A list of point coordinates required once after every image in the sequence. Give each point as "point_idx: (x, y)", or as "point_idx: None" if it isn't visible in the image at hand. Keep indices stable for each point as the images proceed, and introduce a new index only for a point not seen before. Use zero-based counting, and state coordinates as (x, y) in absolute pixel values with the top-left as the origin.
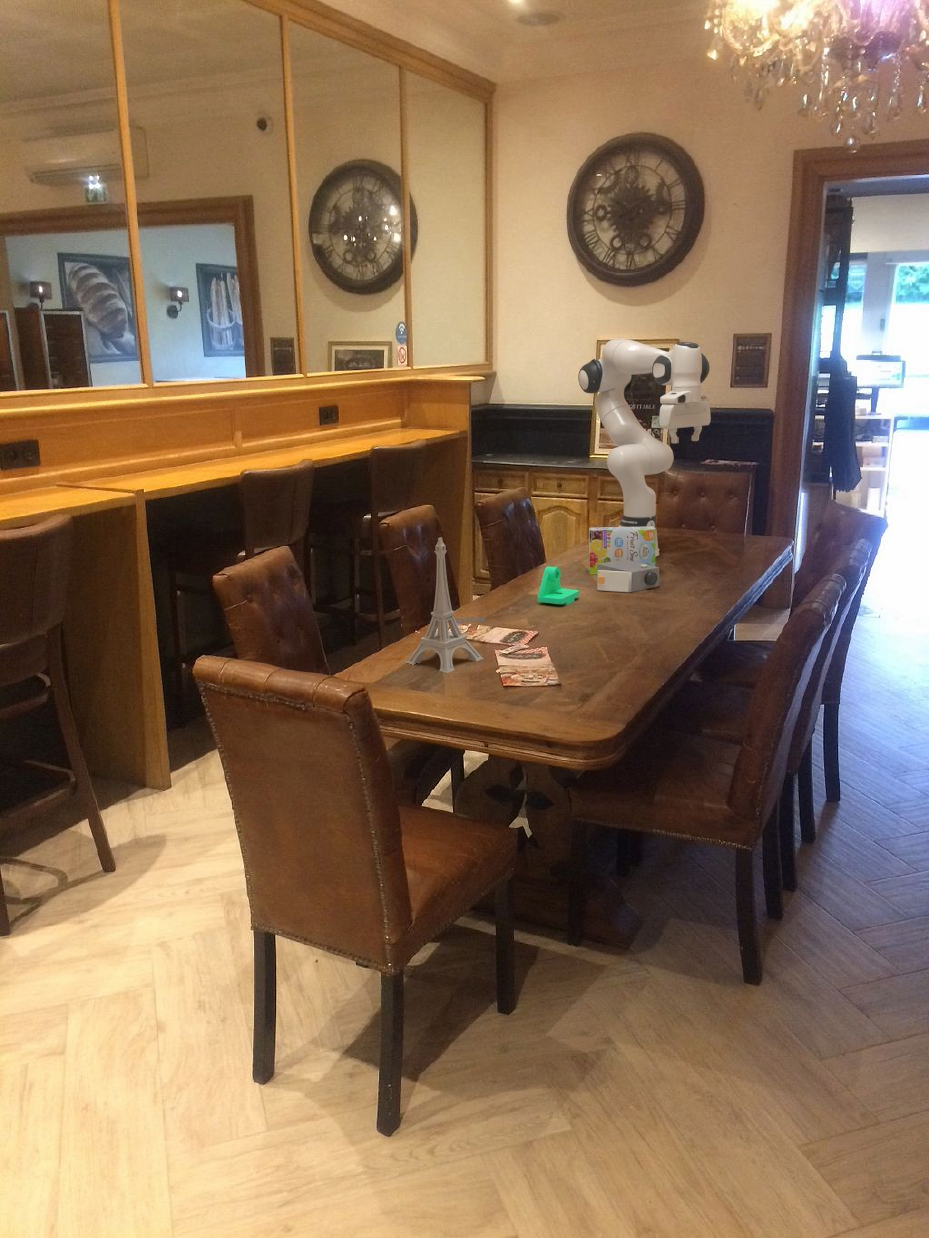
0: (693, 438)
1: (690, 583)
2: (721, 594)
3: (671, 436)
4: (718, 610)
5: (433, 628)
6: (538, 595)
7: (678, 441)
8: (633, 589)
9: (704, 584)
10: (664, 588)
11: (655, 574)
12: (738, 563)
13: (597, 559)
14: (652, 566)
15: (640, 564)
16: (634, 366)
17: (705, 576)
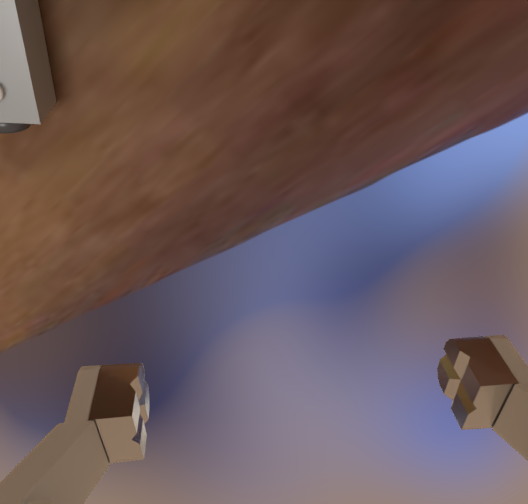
0: (456, 374)
1: (159, 133)
2: (140, 248)
3: (51, 443)
4: (42, 317)
5: None
6: None
7: (144, 414)
8: None
9: (181, 164)
10: (57, 127)
11: (16, 130)
12: (473, 50)
13: None
14: (27, 99)
15: (5, 46)
16: None
17: (257, 103)
